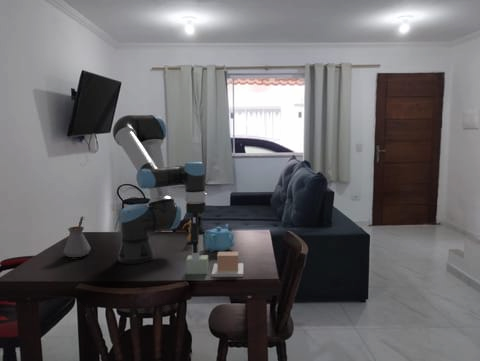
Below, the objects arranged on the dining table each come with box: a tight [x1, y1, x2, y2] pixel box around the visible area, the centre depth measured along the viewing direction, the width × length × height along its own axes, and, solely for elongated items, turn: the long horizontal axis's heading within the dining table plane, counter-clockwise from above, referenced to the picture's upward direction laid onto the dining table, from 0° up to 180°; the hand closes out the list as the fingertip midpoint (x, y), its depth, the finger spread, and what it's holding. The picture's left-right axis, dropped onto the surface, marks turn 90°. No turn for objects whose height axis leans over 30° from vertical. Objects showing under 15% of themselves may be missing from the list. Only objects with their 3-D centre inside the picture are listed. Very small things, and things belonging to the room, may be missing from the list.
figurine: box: [182, 218, 196, 242], centre depth 203 cm, size 8×6×12 cm
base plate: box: [211, 262, 244, 278], centre depth 162 cm, size 12×12×1 cm
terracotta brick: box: [216, 251, 239, 271], centre depth 162 cm, size 8×5×6 cm, turn 89°
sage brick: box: [185, 254, 209, 275], centre depth 162 cm, size 8×5×6 cm, turn 89°
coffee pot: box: [63, 216, 91, 258], centre depth 190 cm, size 21×12×15 cm, turn 9°
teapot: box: [204, 223, 235, 253], centre depth 191 cm, size 13×14×11 cm
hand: (198, 255), depth 161 cm, fingers open, 13 cm apart
